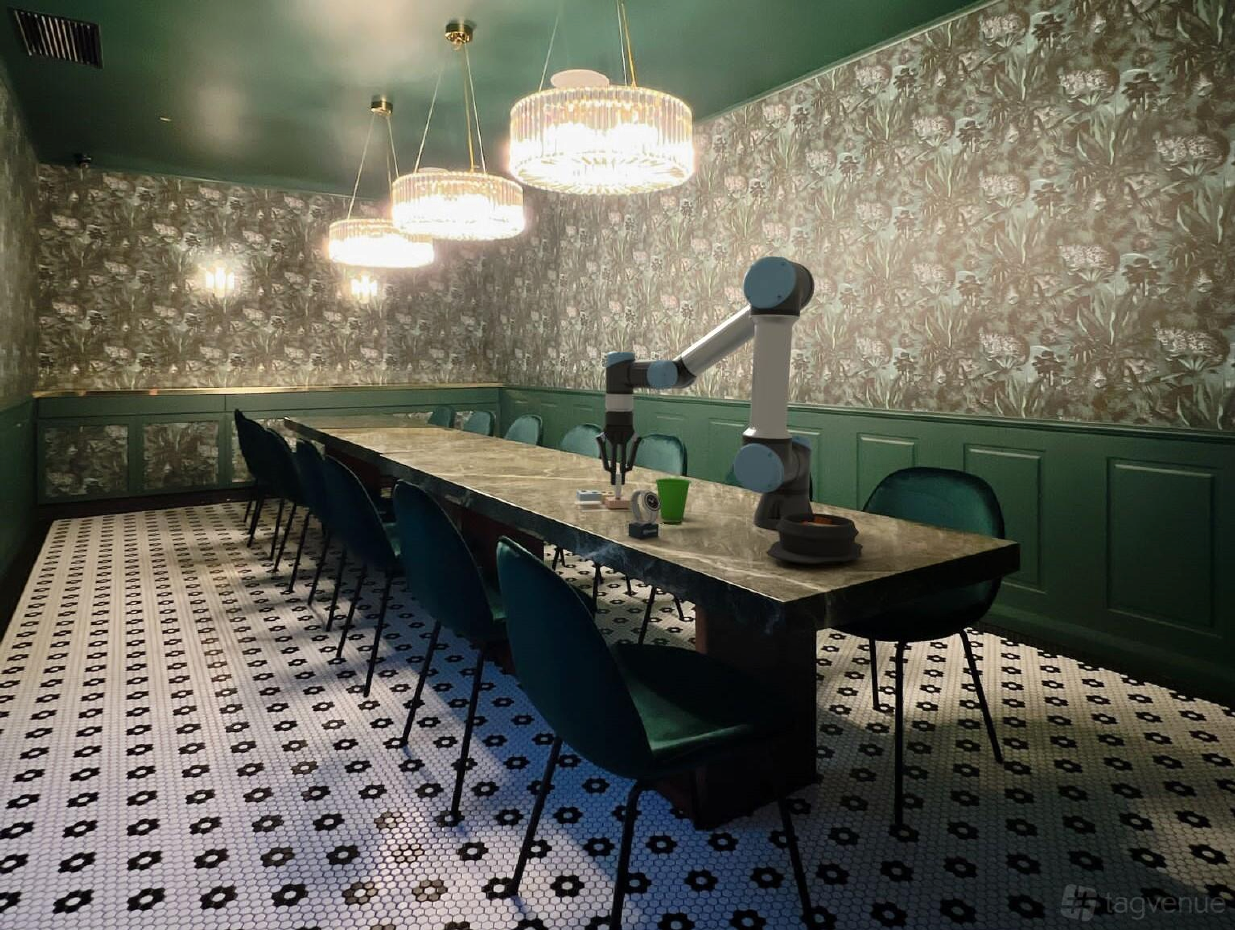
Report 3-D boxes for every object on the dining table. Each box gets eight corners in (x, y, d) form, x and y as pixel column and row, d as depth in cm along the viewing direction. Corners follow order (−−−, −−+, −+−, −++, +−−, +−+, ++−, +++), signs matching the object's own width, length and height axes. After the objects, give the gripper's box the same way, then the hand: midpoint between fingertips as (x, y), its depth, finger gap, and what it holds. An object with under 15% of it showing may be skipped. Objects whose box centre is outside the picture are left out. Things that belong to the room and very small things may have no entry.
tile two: (601, 500, 205) (601, 492, 205) (580, 501, 204) (580, 493, 203) (597, 497, 211) (597, 489, 211) (576, 497, 210) (576, 489, 209)
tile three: (622, 501, 211) (622, 494, 211) (601, 502, 210) (601, 494, 210) (618, 498, 217) (618, 490, 217) (597, 498, 216) (597, 491, 216)
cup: (687, 527, 187) (689, 484, 185) (651, 525, 189) (652, 482, 187) (691, 520, 196) (692, 479, 194) (657, 518, 197) (658, 477, 196)
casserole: (806, 541, 174) (808, 506, 173) (883, 556, 161) (886, 518, 160) (744, 560, 156) (746, 520, 155) (826, 578, 143) (828, 535, 142)
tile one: (630, 507, 202) (631, 499, 201) (609, 508, 200) (609, 500, 200) (625, 503, 208) (626, 495, 207) (604, 504, 206) (604, 496, 206)
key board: (637, 515, 201) (637, 510, 201) (582, 517, 198) (582, 511, 197) (622, 503, 219) (622, 498, 219) (571, 504, 216) (571, 499, 216)
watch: (646, 541, 171) (647, 493, 170) (623, 534, 178) (624, 489, 176) (664, 538, 175) (665, 491, 173) (641, 532, 181) (642, 487, 180)
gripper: (639, 409, 206) (637, 494, 209) (592, 409, 203) (591, 495, 206) (646, 411, 199) (644, 499, 202) (597, 410, 196) (596, 499, 199)
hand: (617, 496), depth 204 cm, fingers closed
